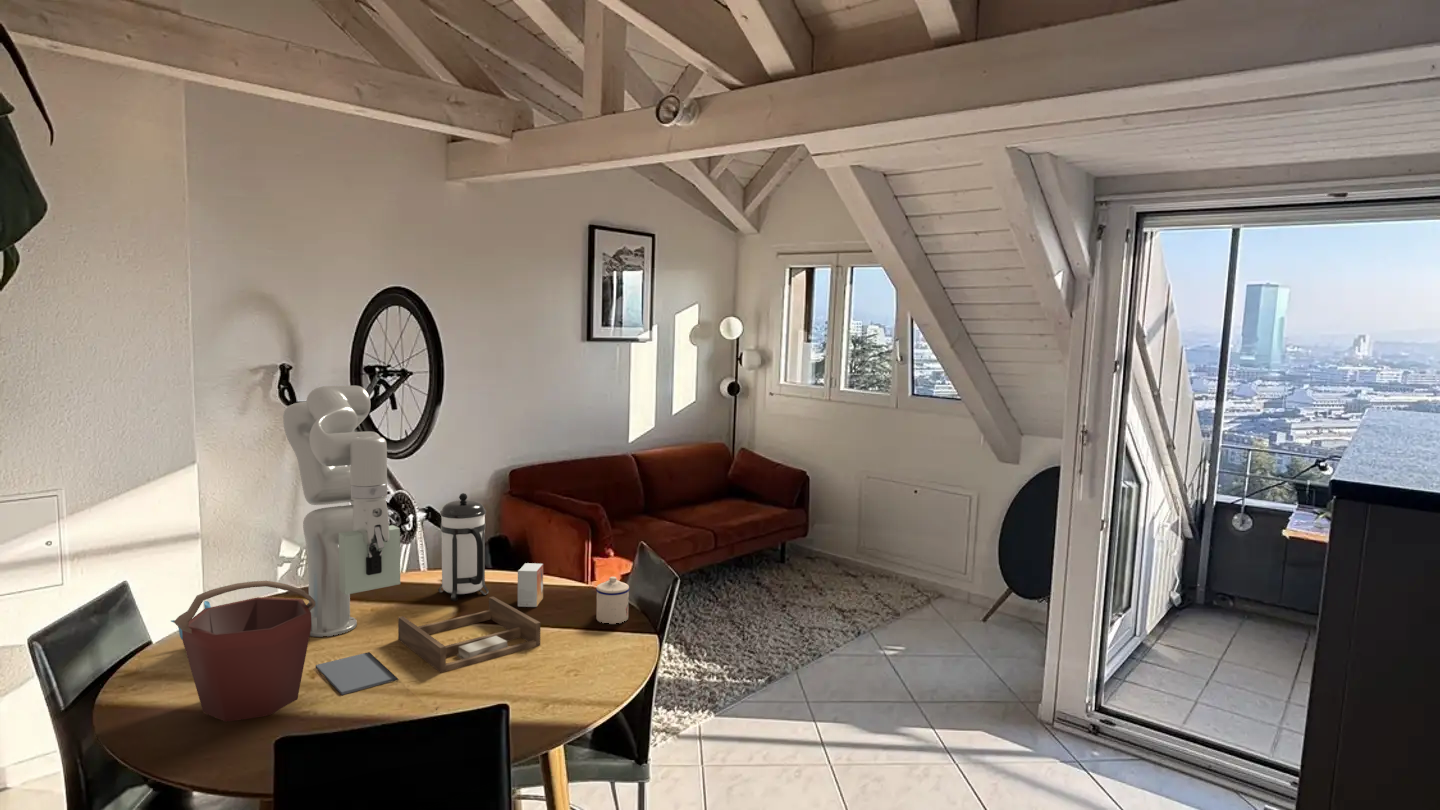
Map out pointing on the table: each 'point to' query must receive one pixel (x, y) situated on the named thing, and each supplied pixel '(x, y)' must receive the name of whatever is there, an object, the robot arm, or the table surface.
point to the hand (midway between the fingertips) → (370, 570)
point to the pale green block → (355, 562)
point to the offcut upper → (482, 646)
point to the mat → (356, 673)
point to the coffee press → (463, 547)
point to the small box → (530, 585)
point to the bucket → (247, 651)
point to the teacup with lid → (612, 601)
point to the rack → (437, 652)
